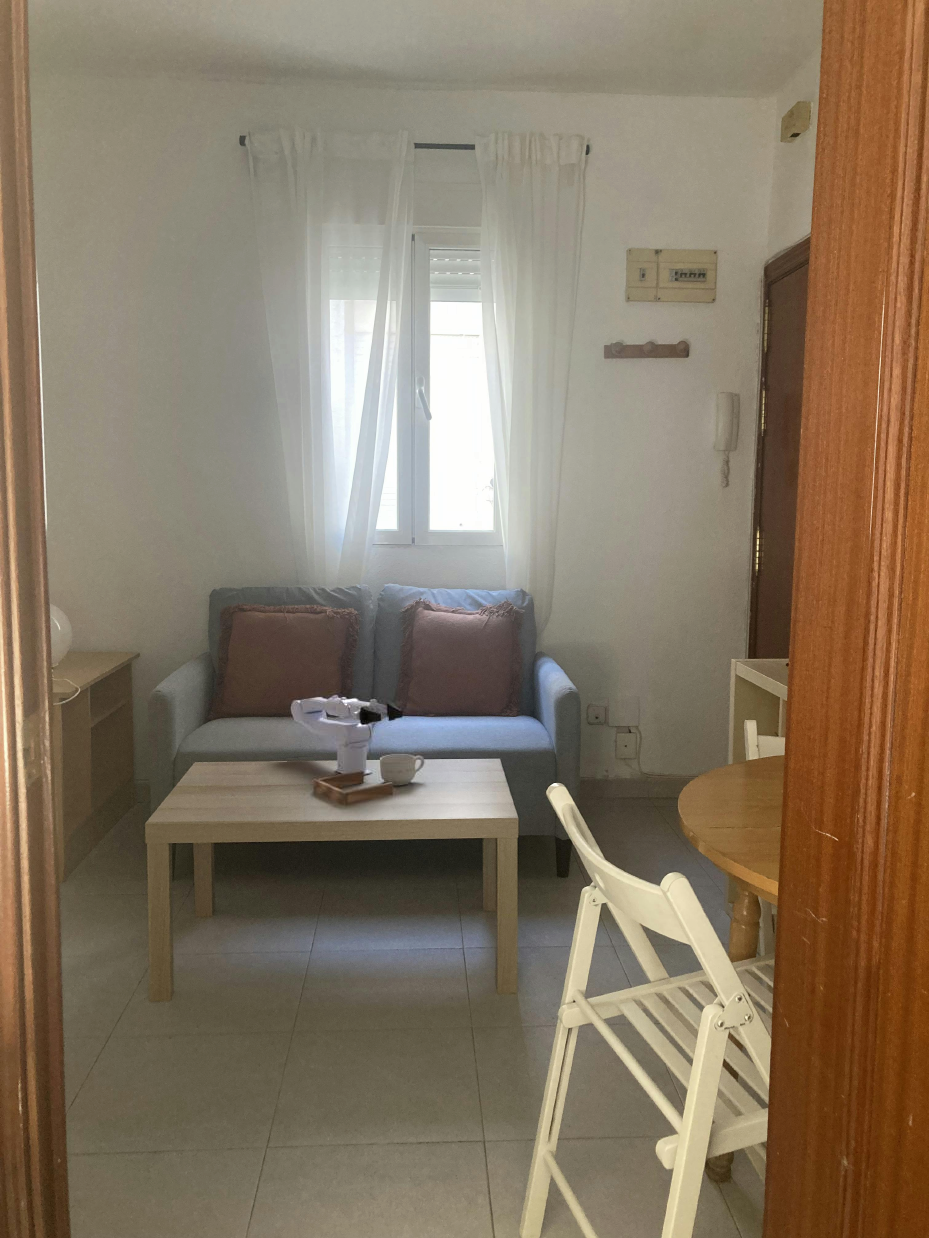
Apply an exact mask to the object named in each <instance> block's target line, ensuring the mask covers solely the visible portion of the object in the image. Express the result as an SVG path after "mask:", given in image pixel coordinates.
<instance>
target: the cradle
mask: <svg viewBox="0 0 929 1238" xmlns="http://www.w3.org/2000/svg"><path fill="white" fill-rule="evenodd" d="M364 777H365V776H364V771H362V770H360V771H355V772H350V773H345V774H342V773H340V774H336V775H330V776H326V777H321V778H316V779H313V793H316V794H318V795H320V796H323V797H324V798H327V799H329V800H331V801H333V802H335V803H338V804H340V805H341V806H344V807H345V806H351V805H354V804H359V803H363V802H369V801H372V800H376V799H381V798H384V797H390V796H393V795H394V785H393V783H392V782H389V783H386V782H384V783H381V784H380V783H379V784H376V785H372V786H366V787H362V788H357V789H353V790H348V791H345V790H343V789H340V788H343V787H349V786H353V785H357V784H363V783H364V781H365V780H364Z"/></svg>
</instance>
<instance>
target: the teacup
mask: <svg viewBox="0 0 929 1238" xmlns="http://www.w3.org/2000/svg"><path fill="white" fill-rule="evenodd" d="M418 760H420V763H419V765H418V766H417V767H416V762H417V761H418ZM379 764H380V765H379V768H380V776H381V779H382V780H383V782H384V783H389V782H392V783H393V786H403V785H408V784H410V783H411V781H412V780H413V779H414V778H415V775H416V773H418V772H419V771H420V770H421V769H422V768H423V767H424V765H425V758H424V757H423V756H422V755H415V756H414V755H412V754H407V753H406V754H405V753H393V754H386V755H383V756H381V757H380V758H379Z"/></svg>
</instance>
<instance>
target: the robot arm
mask: <svg viewBox="0 0 929 1238" xmlns="http://www.w3.org/2000/svg"><path fill="white" fill-rule="evenodd" d="M377 701H378V700H377V699H370V700H369V702H368V701H362V700H359V699H358V698H356V697H353V698H349V699H348V698H347V697H345V696H343V697H339V696H338V695H336V694H335V695H332V696H331V697H329V698H323V697H322V696H320V697H319V696H317V697H311V698H305V699H299V700H297V699H295V700H292V703H291V706H290V712H291V715H292V718H293V720H294V722H297V723H300V724H301V725H303V726H304V727H305V728H306V730H308V731H309V732H311V733H312V734H316V735H322V736H325V737H331V738H335V742H338V743H339V744H340V745H338V748H337V753H336V754H337V757H336V758H337V759H336V760H337V763H336V765H337V766H336V767H337V768H335V769H334V771H335V772H337V773H340V774H345V773H350V772H355V771H360V770H362V771H364V775H369V774H373V771H372V770H369V769H368V768H367V745H369V743H370V741H371V740H372V737H373V728H372V725H371V724H376V723H378V722H381V721H382V720H383V719H385V718H387V717H388V721H389V722H391V721H395V720H396V719H402V718H403V717H404V716H403V710H402V709H401V708H399V707H398V706H397V705H396V704H395V702H393V701H388V702H386V705H385V704H381V703H378V702H377ZM327 714H328V715H331V716H336V717H339V718H340V720H345V719H352V720H356V721H360V722H358V723H347V722H341V721H336V720H332V719H328V717H327Z"/></svg>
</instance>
